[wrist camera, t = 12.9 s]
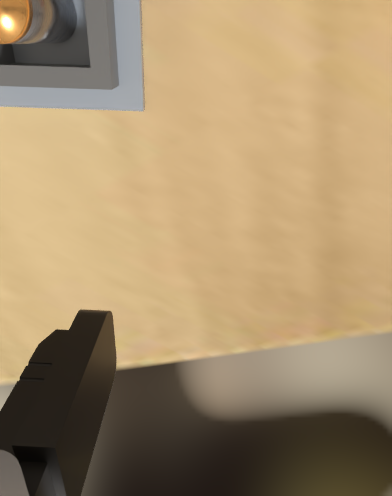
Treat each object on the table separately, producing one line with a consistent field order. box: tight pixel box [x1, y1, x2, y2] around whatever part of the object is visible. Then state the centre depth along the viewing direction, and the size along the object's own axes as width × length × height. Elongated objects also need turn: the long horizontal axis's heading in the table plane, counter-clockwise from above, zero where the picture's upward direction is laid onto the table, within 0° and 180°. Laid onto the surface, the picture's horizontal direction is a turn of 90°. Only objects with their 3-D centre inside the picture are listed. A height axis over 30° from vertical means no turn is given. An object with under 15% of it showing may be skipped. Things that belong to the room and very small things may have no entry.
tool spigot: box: [0, 0, 77, 44], centre depth 25 cm, size 4×4×10 cm
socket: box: [0, 0, 145, 111], centre depth 29 cm, size 14×14×4 cm
